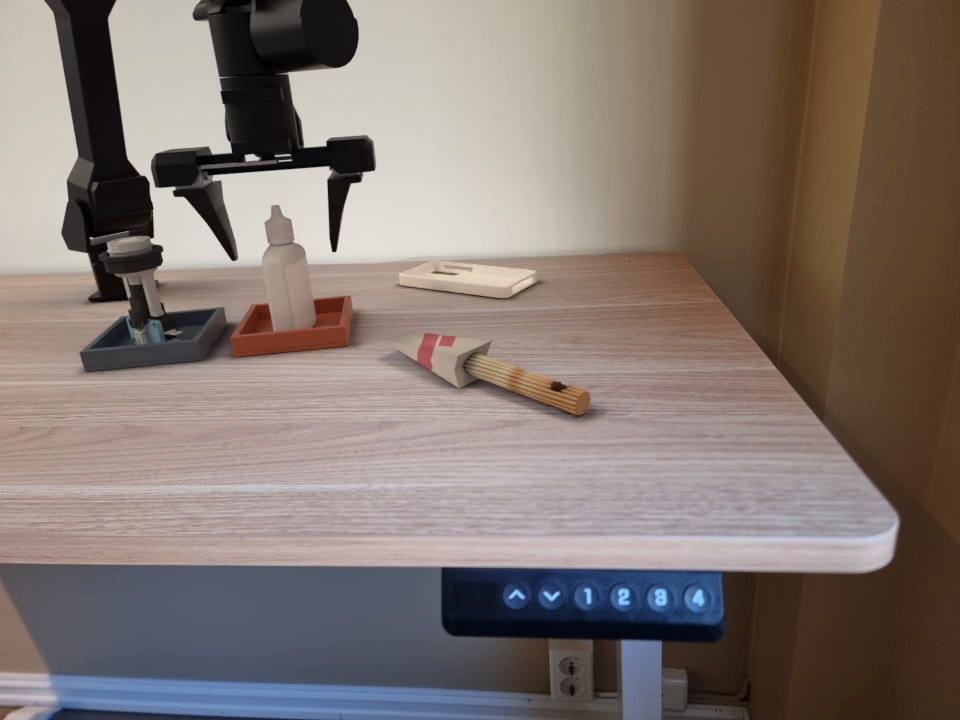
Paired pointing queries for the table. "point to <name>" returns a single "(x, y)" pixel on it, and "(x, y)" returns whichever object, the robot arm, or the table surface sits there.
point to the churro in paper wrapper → (485, 368)
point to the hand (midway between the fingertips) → (285, 255)
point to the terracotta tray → (326, 333)
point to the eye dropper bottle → (287, 276)
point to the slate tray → (122, 353)
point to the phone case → (469, 279)
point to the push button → (141, 288)
